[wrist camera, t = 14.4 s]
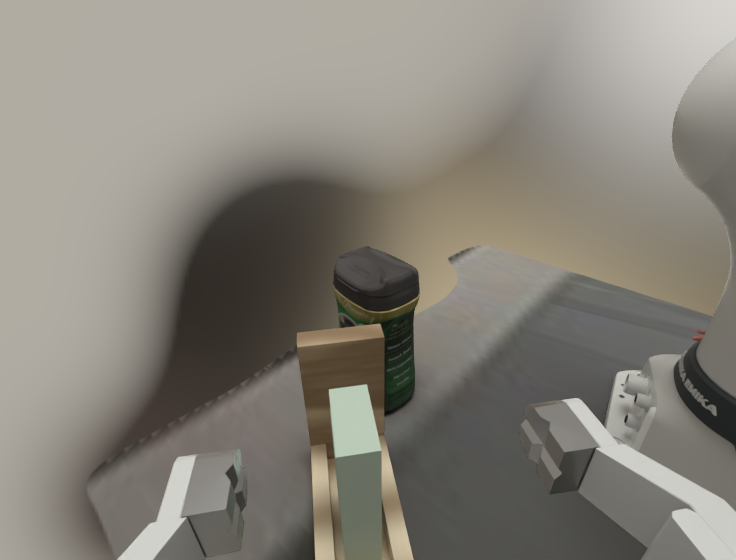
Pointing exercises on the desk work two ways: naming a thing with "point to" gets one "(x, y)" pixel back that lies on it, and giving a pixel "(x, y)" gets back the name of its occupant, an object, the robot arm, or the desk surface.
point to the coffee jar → (381, 311)
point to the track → (319, 374)
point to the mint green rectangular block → (357, 471)
